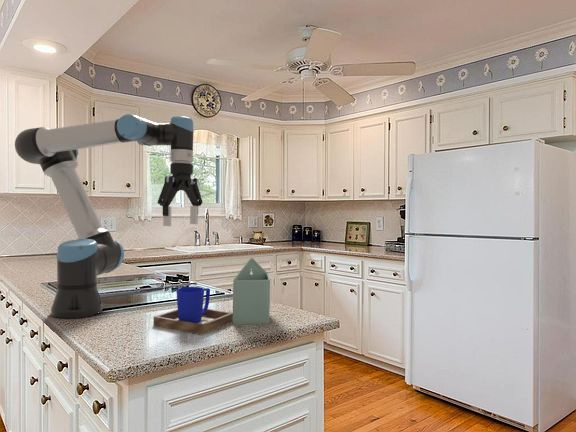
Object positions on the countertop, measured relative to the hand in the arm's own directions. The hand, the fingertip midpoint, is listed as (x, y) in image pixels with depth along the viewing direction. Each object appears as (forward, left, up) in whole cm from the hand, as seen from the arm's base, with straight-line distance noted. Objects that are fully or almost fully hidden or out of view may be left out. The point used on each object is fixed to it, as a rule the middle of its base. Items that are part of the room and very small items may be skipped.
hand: (181, 225), depth 151 cm
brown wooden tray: (+16, -12, -29) cm, 35 cm away
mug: (+16, -12, -28) cm, 35 cm away
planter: (+32, 0, -29) cm, 43 cm away
